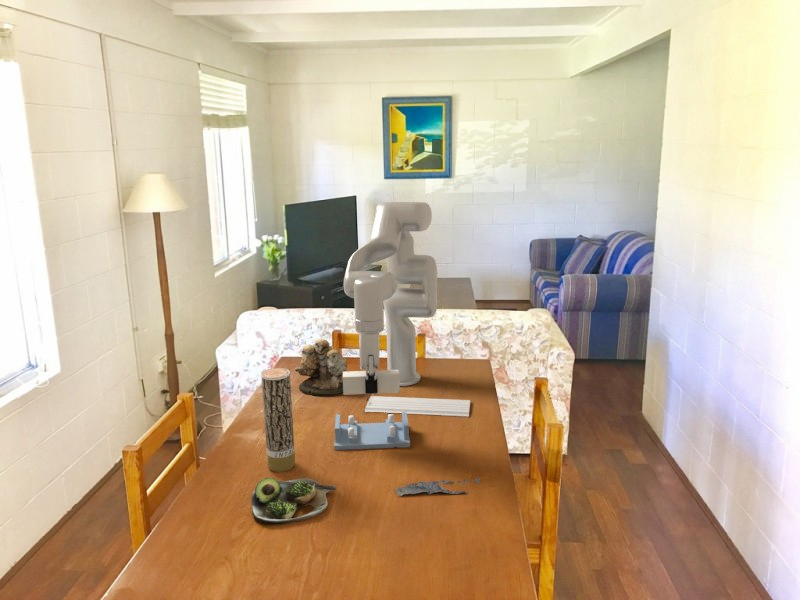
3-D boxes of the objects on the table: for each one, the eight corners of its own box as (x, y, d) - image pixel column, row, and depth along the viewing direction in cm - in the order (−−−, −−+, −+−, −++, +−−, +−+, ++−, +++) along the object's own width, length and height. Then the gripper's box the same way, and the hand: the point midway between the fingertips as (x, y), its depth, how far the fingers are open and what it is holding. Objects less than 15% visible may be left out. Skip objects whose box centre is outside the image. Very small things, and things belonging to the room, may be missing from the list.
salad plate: (330, 477, 161) (330, 460, 159) (344, 517, 144) (343, 498, 143) (249, 489, 156) (248, 471, 155) (254, 532, 139) (252, 512, 138)
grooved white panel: (468, 421, 191) (470, 404, 202) (468, 412, 190) (470, 396, 201) (363, 416, 195) (370, 400, 206) (363, 407, 194) (370, 391, 206)
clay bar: (343, 394, 174) (342, 377, 173) (343, 389, 178) (342, 371, 177) (399, 392, 175) (399, 374, 174) (398, 386, 179) (398, 369, 178)
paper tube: (262, 467, 165) (255, 373, 159) (284, 457, 170) (278, 366, 164) (278, 476, 161) (272, 380, 154) (300, 465, 165) (295, 372, 159)
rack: (334, 450, 173) (333, 432, 172) (336, 428, 186) (335, 411, 184) (410, 446, 174) (410, 428, 173) (406, 425, 187) (406, 408, 186)
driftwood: (393, 499, 151) (393, 491, 150) (393, 484, 157) (393, 476, 157) (483, 498, 152) (483, 490, 151) (479, 483, 158) (479, 475, 158)
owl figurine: (291, 395, 210) (287, 344, 206) (302, 382, 221) (299, 333, 217) (346, 397, 207) (343, 346, 203) (354, 384, 218) (352, 335, 214)
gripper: (355, 316, 180) (357, 378, 185) (355, 334, 164) (357, 402, 168) (382, 315, 180) (383, 377, 185) (385, 333, 164) (386, 401, 169)
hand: (371, 389), depth 177 cm, fingers closed on clay bar, 4 cm apart
